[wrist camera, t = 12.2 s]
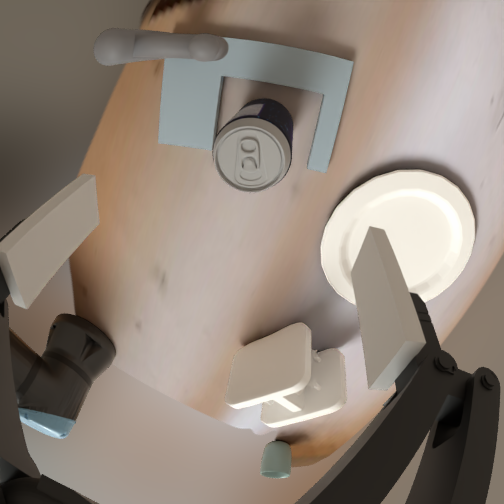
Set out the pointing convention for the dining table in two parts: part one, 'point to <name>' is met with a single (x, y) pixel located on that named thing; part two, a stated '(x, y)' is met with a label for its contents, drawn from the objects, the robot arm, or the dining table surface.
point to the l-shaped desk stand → (231, 65)
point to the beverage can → (255, 146)
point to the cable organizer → (287, 377)
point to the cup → (276, 460)
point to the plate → (402, 230)
